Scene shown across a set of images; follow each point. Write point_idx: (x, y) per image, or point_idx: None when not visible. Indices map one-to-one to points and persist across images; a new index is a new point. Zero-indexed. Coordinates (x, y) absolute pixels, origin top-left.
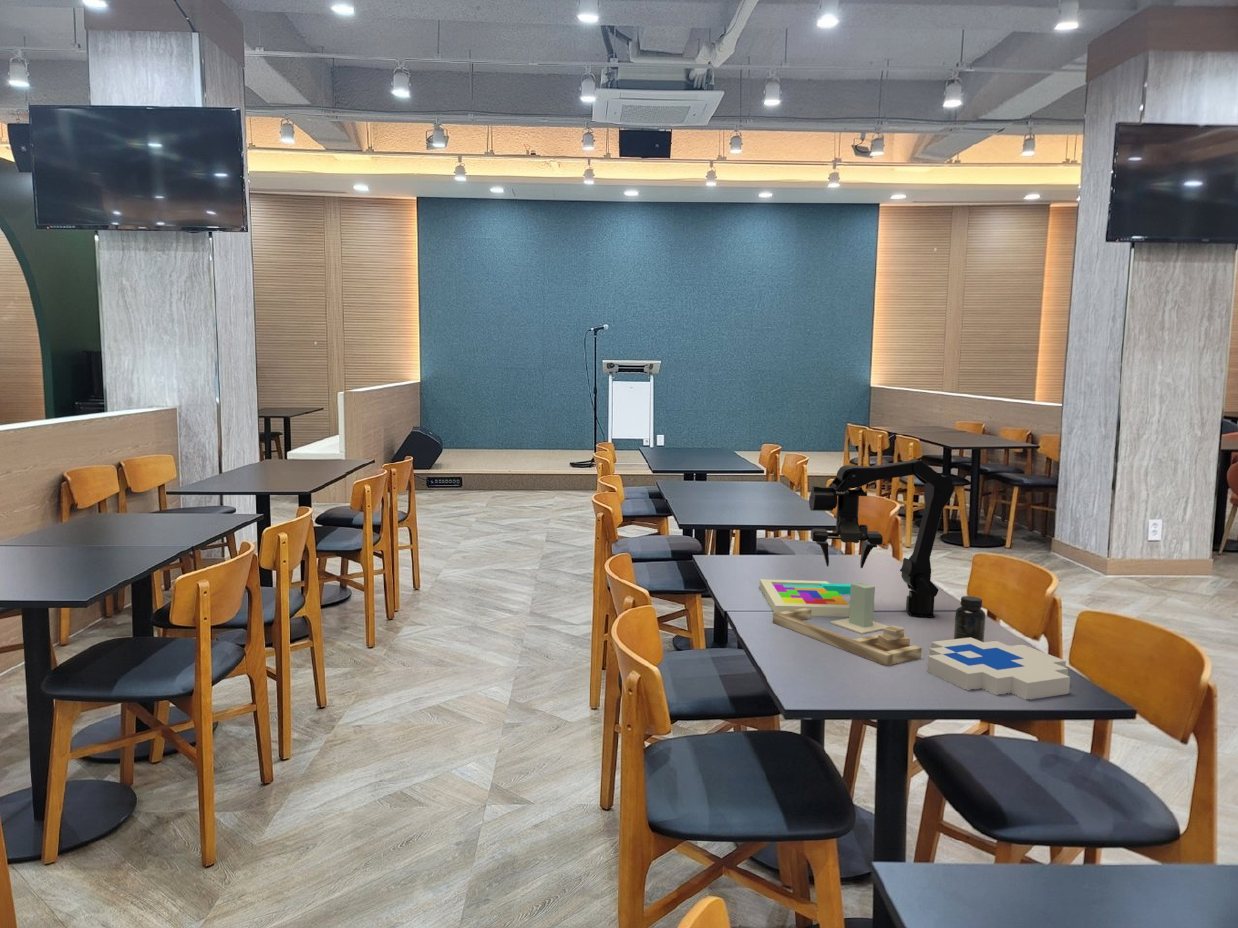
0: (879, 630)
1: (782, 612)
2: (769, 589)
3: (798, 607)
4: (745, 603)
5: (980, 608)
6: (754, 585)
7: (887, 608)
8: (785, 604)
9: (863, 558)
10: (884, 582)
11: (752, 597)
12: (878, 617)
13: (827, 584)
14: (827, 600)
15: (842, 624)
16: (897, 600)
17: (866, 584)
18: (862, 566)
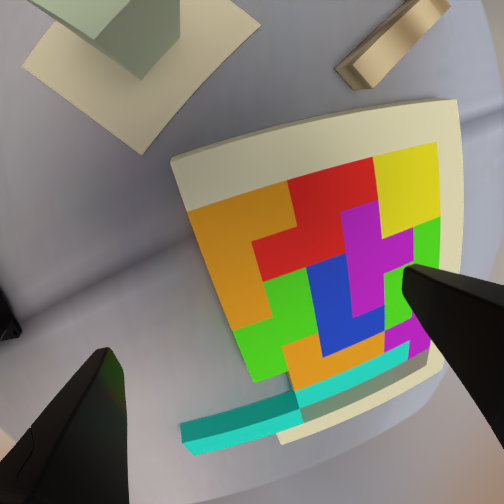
0: None
1: (432, 13)
2: None
3: (394, 105)
4: (486, 194)
5: None
6: None
7: (72, 333)
8: (434, 122)
9: (66, 414)
10: (157, 492)
11: (466, 261)
12: (70, 200)
13: (282, 424)
14: (288, 246)
15: (207, 2)
16: None
17: (49, 8)
18: (93, 355)
